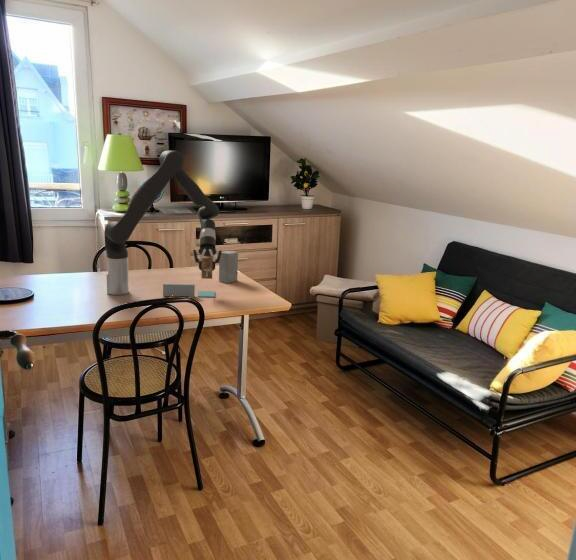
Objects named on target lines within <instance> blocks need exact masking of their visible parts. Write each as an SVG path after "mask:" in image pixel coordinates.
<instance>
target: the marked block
mask: <svg viewBox="0 0 576 560" xmlns="http://www.w3.org/2000/svg"><path fill="white" fill-rule="evenodd" d="M212 261H213V256H206V255H204V256H202V270H201V275H200V276H201V279H203V280H204V279H207V280H208V279H211V280H212V279H213V271H212Z"/></svg>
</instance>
